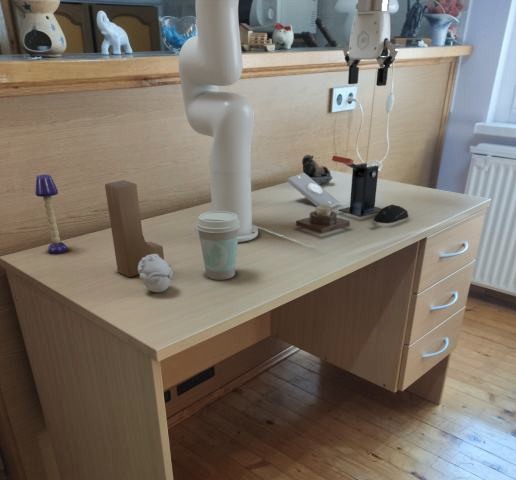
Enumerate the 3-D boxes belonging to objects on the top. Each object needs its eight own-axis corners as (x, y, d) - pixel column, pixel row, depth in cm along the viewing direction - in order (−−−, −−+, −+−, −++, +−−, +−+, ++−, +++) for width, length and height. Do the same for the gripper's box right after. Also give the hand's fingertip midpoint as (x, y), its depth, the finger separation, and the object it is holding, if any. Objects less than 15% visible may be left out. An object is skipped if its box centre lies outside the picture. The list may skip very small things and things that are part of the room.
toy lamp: (44, 249, 122) (28, 175, 114) (64, 245, 125) (49, 172, 117) (52, 255, 119) (36, 179, 111) (72, 250, 122) (58, 175, 113)
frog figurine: (158, 281, 105) (154, 247, 102) (181, 290, 101) (178, 255, 98) (133, 291, 101) (128, 256, 98) (156, 300, 97) (152, 264, 94)
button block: (320, 237, 128) (321, 221, 126) (295, 229, 134) (296, 213, 132) (349, 229, 133) (350, 213, 131) (323, 221, 139) (324, 206, 138)
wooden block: (153, 261, 115) (143, 175, 106) (165, 266, 112) (156, 179, 104) (117, 272, 110) (103, 183, 101) (129, 278, 107) (116, 187, 98)
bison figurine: (321, 180, 181) (323, 149, 176) (336, 184, 176) (338, 152, 171) (295, 186, 174) (296, 154, 169) (311, 190, 169) (312, 157, 164)
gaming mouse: (361, 226, 136) (362, 210, 134) (391, 214, 145) (393, 199, 143) (383, 231, 132) (385, 215, 130) (412, 218, 141) (414, 203, 139)
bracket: (360, 220, 140) (364, 170, 134) (338, 214, 146) (341, 165, 139) (384, 213, 146) (390, 165, 139) (362, 207, 151) (366, 160, 145)
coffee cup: (191, 274, 108) (186, 216, 102) (222, 263, 113) (220, 207, 108) (218, 286, 103) (215, 225, 97) (250, 274, 108) (249, 216, 102)
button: (323, 218, 130) (323, 209, 129) (312, 215, 132) (313, 206, 131) (333, 215, 132) (334, 207, 131) (323, 212, 134) (323, 204, 133)
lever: (348, 166, 131) (351, 156, 130) (330, 162, 135) (334, 153, 134) (375, 180, 139) (378, 171, 139) (358, 176, 143) (361, 168, 143)
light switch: (326, 206, 146) (288, 174, 149) (317, 223, 150) (280, 192, 153) (342, 200, 152) (305, 169, 155) (332, 216, 156) (296, 186, 159)
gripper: (336, 8, 135) (332, 84, 143) (391, 5, 123) (383, 87, 131) (356, 9, 139) (351, 82, 147) (411, 6, 127) (402, 85, 135)
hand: (366, 84), depth 139 cm, fingers open, 9 cm apart
